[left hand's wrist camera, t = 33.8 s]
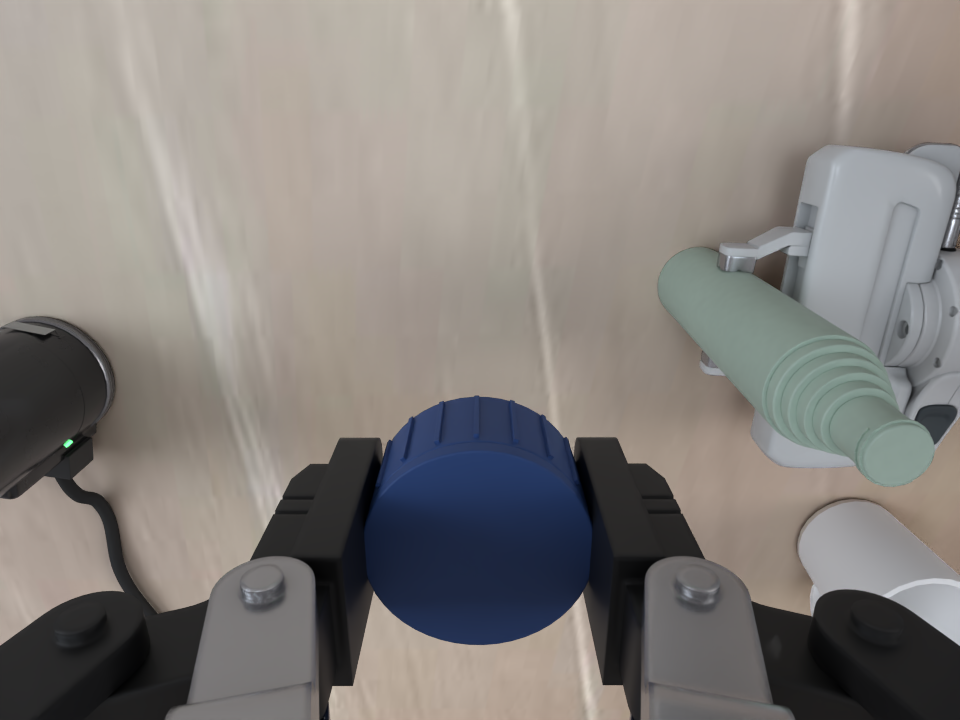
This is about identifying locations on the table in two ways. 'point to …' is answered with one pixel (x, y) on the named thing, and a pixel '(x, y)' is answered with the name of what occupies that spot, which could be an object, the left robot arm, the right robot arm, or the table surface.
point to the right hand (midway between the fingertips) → (711, 310)
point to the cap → (478, 523)
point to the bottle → (796, 368)
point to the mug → (878, 562)
